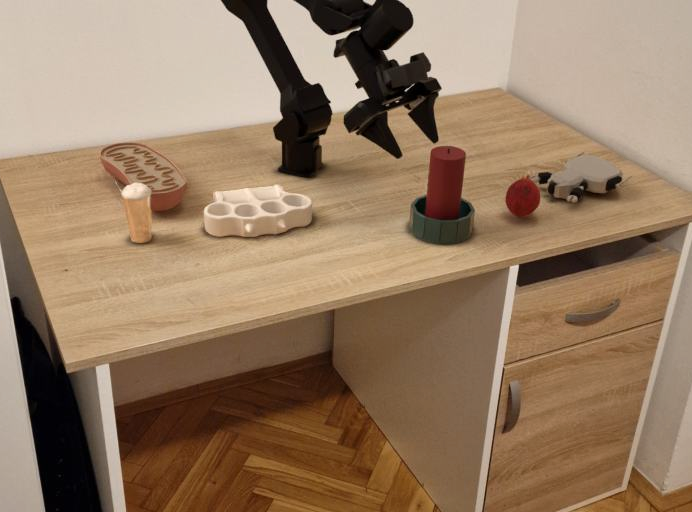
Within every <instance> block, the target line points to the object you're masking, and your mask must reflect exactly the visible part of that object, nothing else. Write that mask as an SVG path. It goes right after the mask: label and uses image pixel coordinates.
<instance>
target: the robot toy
mask: <svg viewBox="0 0 692 512" xmlns="http://www.w3.org/2000/svg"><path fill="white" fill-rule="evenodd" d="M623 176H624V172H623V171H622V170H621V169H620V167H618V166H617V165H616V164H614V163H613V162H611V161H609V160H607V159H605V158H602V157H599V156H596V155H592V154H585V150H584V151H583V150H582V151H581V152H580V153H578V154H576V156H574V157H572V158H569V159H567V160H566V161H565V163H564V167H563V170H559V171H556V172H553V173H552V172H549V171H542V172H538V174H537V175H535V174H533V175H530V180H532V181H533V182H534V183H535V184H536V183H538V184H539V185H546V193H547V194H548V195H551V196H553V198H557V199H559V198H561V199H563V200H566V201H567V202H569V203H570V202H571V203H574V204H576V203H578V202H579V201H580V200H581V199H582V197H583V195H584V192H586V191H587V192H591V193H594V194H605V193H608V192H611V191H613V190H617V189H618V188H620V187H621V186H622V185H623V184H624V183H626V182H627V181H628V180H630V179H632V178H633V177H634V174H630V175H628V176H627V177H626V178H625V179H623Z"/></svg>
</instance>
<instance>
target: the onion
mask: <svg viewBox="0 0 692 512" xmlns="http://www.w3.org/2000/svg"><path fill="white" fill-rule="evenodd" d="M530 177H531V175H530V174H529V173H525V174H523V176H522V177H521V178H520V179H517V180H516V181H513V183H512V184H510V185H509V186H508V188H507V190H506V193H505V199H504V200H505V206H506V208H507V209H508V211H509V212H510V213H511V214H512V215H513V216H515V217H516V218H518V219H523V218H525V217H528V216H530V215H531V214H533V213H534V212H535V211H536V210H537V209H538V208H539V206H540V204H541V191H540V189H539V187H538V185H537V184H536V183H534V182H533V181H532V180H530Z"/></svg>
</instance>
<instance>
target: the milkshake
mask: <svg viewBox="0 0 692 512" xmlns="http://www.w3.org/2000/svg"><path fill="white" fill-rule="evenodd" d="M114 183H115V184H116V186H117V188H118V190H119V191H120V193H121V197H122V201H123V202H122V203H123V206H124V210H125V215H126V222H127V226H128V231H129V236H130V239H131V241H132V242H134V243H137V244H144V243H147V242H150V241H151V239H152V238H153V236H152V235H153V231H152V227H153V225H152V210H151V189H150V188H149V187H147V186H146V185H145V184H142V183H133V184H131V185H128V186H126V185H125V187H124V188H123V189H121V187H120V186H119V184H118V183H117V181H116V180H114Z"/></svg>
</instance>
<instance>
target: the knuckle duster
mask: <svg viewBox="0 0 692 512" xmlns="http://www.w3.org/2000/svg"><path fill="white" fill-rule="evenodd" d="M212 199H213V202H212V203H209V204H208V205H206V206H205V208H203V209H204V210H203V218H204V219H203V221H204V230H205V231H206V233H207V234H209V235H211V236H214V237H218V238H223V237H228V236H238V237H243V238H257V237H259V236H263V235H279V234H282V233H286V232H287V231H289V230H290V229H293V228H298V227H307V226H308V225H309V224H311V222H312V220H313V201H312V199H311V197H309V196H307V195H305V194H301V193H296V192H295V193H294V192H287V191H285V190H284V187H283V186H282V185H281V184H279V183H277V184H274V185H268V186H260V187H258V186H257V187H244V188H240V189H231V190H224V191H223V190H222V191H220V190H216V191H213V192H212Z"/></svg>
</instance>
